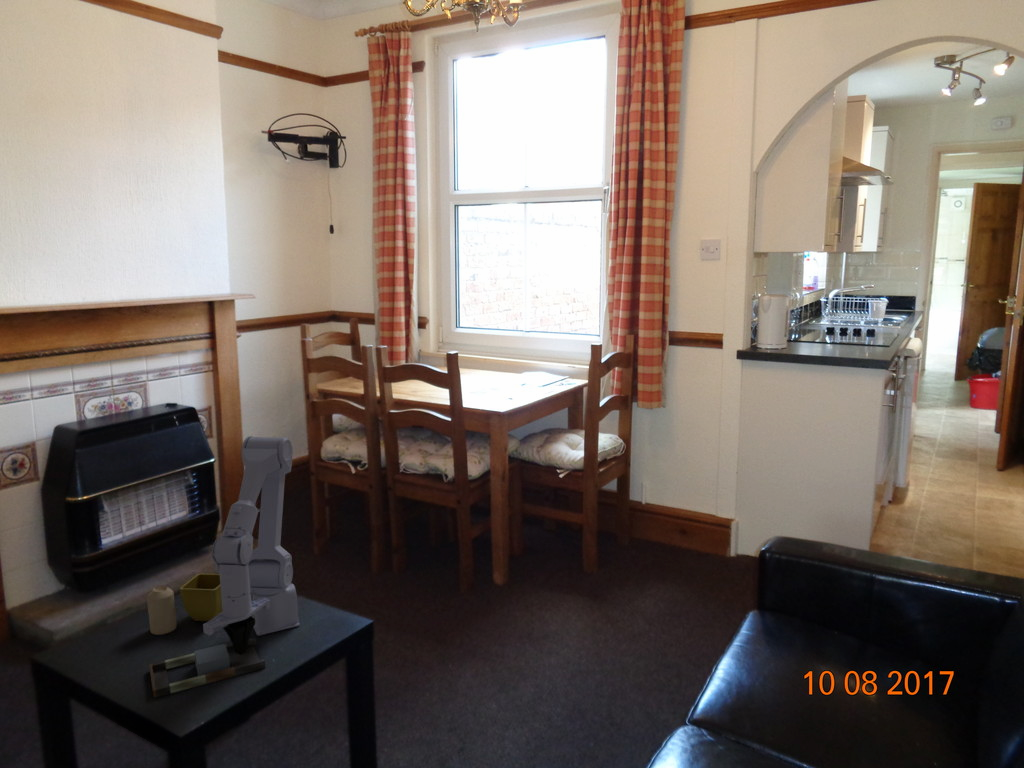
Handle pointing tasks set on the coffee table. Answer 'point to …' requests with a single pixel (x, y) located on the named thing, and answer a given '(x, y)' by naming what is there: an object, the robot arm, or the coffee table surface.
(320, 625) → the coffee table surface
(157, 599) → the candle
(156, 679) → the trap lane
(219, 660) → the block
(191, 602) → the flower pot
